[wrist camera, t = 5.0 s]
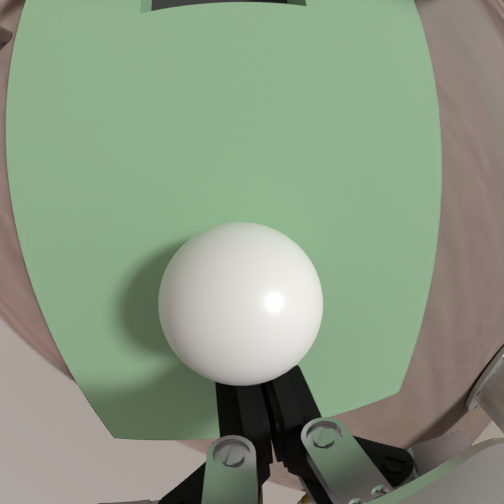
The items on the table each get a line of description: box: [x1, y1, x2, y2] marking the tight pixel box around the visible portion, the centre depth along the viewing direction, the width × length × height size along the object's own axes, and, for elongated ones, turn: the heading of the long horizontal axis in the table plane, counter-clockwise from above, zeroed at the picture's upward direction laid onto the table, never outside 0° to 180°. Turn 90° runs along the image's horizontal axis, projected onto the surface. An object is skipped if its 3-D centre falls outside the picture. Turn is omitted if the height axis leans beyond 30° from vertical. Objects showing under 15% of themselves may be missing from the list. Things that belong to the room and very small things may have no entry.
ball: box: [158, 222, 323, 386], centre depth 8 cm, size 4×4×4 cm
